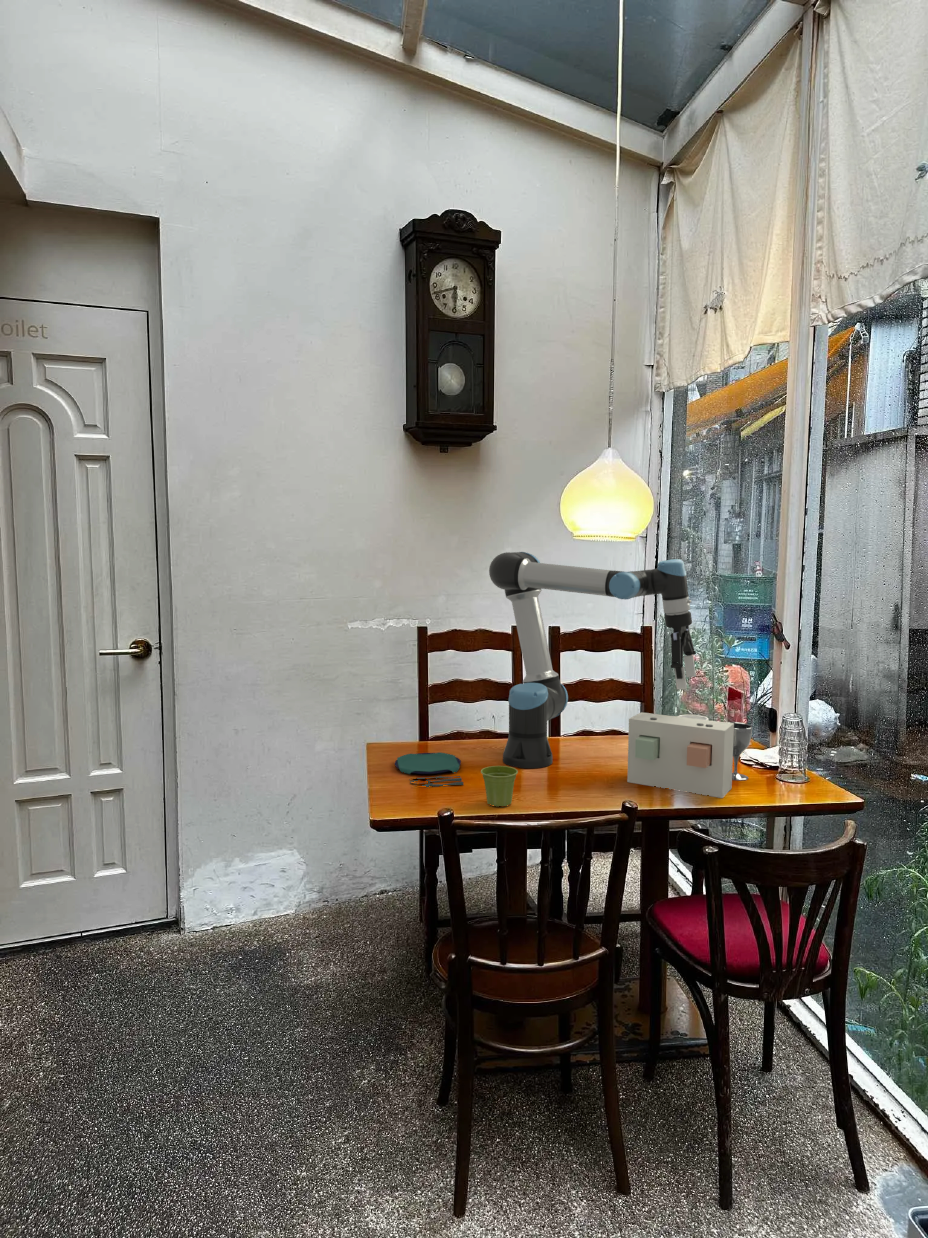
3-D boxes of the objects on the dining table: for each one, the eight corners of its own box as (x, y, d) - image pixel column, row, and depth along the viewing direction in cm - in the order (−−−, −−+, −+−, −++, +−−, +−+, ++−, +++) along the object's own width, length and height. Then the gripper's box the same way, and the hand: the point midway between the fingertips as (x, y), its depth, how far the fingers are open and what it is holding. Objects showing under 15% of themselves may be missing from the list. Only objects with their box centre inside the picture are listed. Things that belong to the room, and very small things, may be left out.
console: (722, 798, 204) (724, 729, 202) (627, 782, 218) (628, 717, 216) (731, 788, 213) (734, 722, 211) (639, 773, 226) (641, 711, 225)
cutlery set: (456, 757, 243) (456, 750, 243) (470, 788, 214) (470, 780, 214) (393, 760, 241) (392, 753, 240) (398, 792, 211) (398, 784, 211)
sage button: (653, 760, 209) (653, 741, 209) (635, 757, 212) (635, 739, 211) (660, 755, 214) (660, 737, 214) (642, 752, 217) (643, 734, 217)
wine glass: (715, 776, 224) (717, 724, 222) (730, 771, 229) (732, 721, 228) (740, 782, 218) (742, 730, 216) (755, 777, 223) (757, 725, 221)
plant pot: (496, 812, 192) (496, 778, 192) (473, 802, 200) (473, 769, 199) (525, 805, 198) (525, 772, 197) (501, 795, 206) (502, 763, 205)
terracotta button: (705, 768, 202) (706, 749, 201) (686, 765, 205) (687, 746, 204) (711, 762, 207) (712, 744, 206) (693, 760, 210) (693, 741, 209)
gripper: (681, 619, 215) (691, 694, 218) (698, 603, 237) (707, 671, 239) (654, 622, 218) (664, 695, 221) (673, 605, 240) (682, 672, 243)
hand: (686, 682), depth 230 cm, fingers open, 13 cm apart
